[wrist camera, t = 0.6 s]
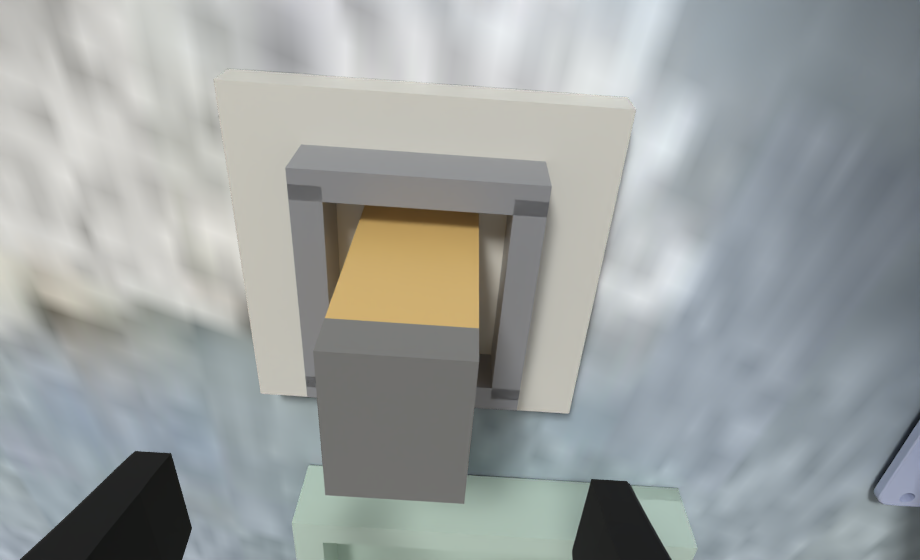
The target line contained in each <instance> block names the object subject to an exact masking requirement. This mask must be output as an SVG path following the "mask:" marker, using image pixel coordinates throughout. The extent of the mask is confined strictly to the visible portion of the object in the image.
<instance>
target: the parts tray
mask: <svg viewBox="0 0 920 560" xmlns="http://www.w3.org/2000/svg"><path fill="white" fill-rule="evenodd" d="M589 486H590V483H584V482H568V481H552V480H536V479H520V478H504V477H489V476H473V475H467V482H466V491H465V501H464V504H458V503H442V502H426V501H410V500H394V499H378V498H362V497H346V496H330V495H325V487H324V475H323V466H315V465H309V466H308V469H307V473H306V476H305V480H304V483H303V487H302V490H301V493H300V497H299V500H298V504H297V507H296V510H295V514H294V517H293V521H292V528H293V536H294V543H295V550H296V558H297V560H573V558H572V549H573V545H574V541H575V538H576V534H577V530H578V527H579V523H580V519H581V516H582V512H583V508H584V504H585V501H586V497H587V493H588V490H589ZM631 487H632V489H633V491H634V492H635V494H636V496H637V498H638V500H639V502H640V504H641V506H642V508H643V509H644V511H645V513H646V515H647V517H648V519H649V521H650V522H651V524H652V526H653V528H654V530H655V531H656V533H657V535H658V537H659V538H660V540H661V542H662V544H663V545H664V547H665V549H666V551H667V552H668V554H669V556H670V557H671V559H672V560H692V559H693V557H694V555H695V553H696V551H697V545H696V542H695V539H694V536H693V533H692V530H691V527H690V524H689V521H688V518H687V515H686V512H685V509H684V506H683V503H682V500H681V497H680V494H679V491H678V488H663V487H647V486H631Z"/></svg>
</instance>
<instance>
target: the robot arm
mask: <svg viewBox="0 0 920 560" xmlns="http://www.w3.org/2000/svg"><path fill="white" fill-rule="evenodd" d="M874 494H875V496H876V497H877V499H878V500H879V502H881V503H882V504H886V505H898V506H914V507H920V420H919V422H918V423H917V425H916V426H915V428H914V429H913V431H912V432H911V434H910V435H909V437H908V438H907V440H906V441H905V443H904V444H903V446H902V448H901V449H900V451H899V452H898V454H897V455H896V457H895V458H894V460H893V461H892V463H891V464H890V466H889V467H888V469H887V470H886V472H885V474H884V475H883V477H882V478H881V480H880V481H879V483H878V484H877V486H876V487H875V490H874ZM191 530H192V527H191V523H190V520H189V516H188V512H187V509H186V505H185V502H184V498H183V494H182V491H181V487H180V484H179V480H178V476H177V473H176V469H175V466H174V462H173V458H172V455H171V453H156V452H140V451H135V452H134V453H133V454H131V455H130V456H129V457H128V458H127V459H126V460H125V461H124V462H123V463H122V464H121V465H120V466H118V467H117V468H116V469H115V470H114V471H113V472H112V473H111V474H110V475H109V476H108V477H107V478H106V479H105V480H104V481H103V482H102V483H101V484H100V485H99V486H98V487H97V488H96V489H95V490H94V491H93V492H91V493H90V494H89V495H88V496H87V497H86V498H85V499H84V500H83V501H82V502H81V503H80V504H79V505H78V506H77V507H76V508H75V509H74V510H73V511H72V512H71V513H70V514H68V515H67V516H66V517H65V518H64V519H63V520H62V521H61V522H60V523H59V524H58V525H57V526H56V527H55V528H54V529H53V530H51V531H50V532H49V533H48V534H47V535H46V536H45V537H44V538H43V539H42V540H41V541H40V542H38V543H37V544H36V545H35V546H34V547H33V548H32V549H31V550H30V551H29V552H28V553H27V554H25V555H24V556H23V557H22V558H21V559H20V560H182V558H183V555H184V552H185V549H186V545H187V542H188V539H189V536H190V533H191ZM572 558H573V560H672V559H671V557H670V556H669V554H668V552H667V551H666V549H665V547H664V545H663V544H662V542H661V540H660V538H659V537H658V535H657V533H656V531H655V530H654V528H653V526H652V524H651V522H650V521H649V519H648V517H647V515H646V513H645V511H644V509H643V508H642V506H641V504H640V502H639V500H638V498H637V496H636V494H635V492H634V491H633V489H632V487H631V485H630V484H629V483H628V482H627V481H613V480H597V479H591V482H590V486H589V490H588V493H587V497H586V501H585V504H584V508H583V512H582V516H581V519H580V523H579V527H578V530H577V534H576V538H575V541H574V545H573V549H572Z"/></svg>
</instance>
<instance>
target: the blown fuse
mask: <svg viewBox="0 0 920 560" xmlns="http://www.w3.org/2000/svg"><path fill="white" fill-rule="evenodd" d="M313 357H314V369H315V380H316V392H317V404H318V416H319V428H320V439H321V451H322V463H323V475H324V487H325V495H330V496H346V497H362V498H378V499H394V500H410V501H426V502H442V503H458V504H464V501H465V491H466V482H467V472H468V463H469V453H470V444H471V434H472V425H473V415H474V406H475V396H476V387H477V377H478V368H479V213H472V212H457V211H443V210H428V209H414V208H399V207H384V206H370V205H365V206H364V209H363V212H362V215H361V217H360V220H359V223H358V226H357V229H356V231H355V234H354V237H353V240H352V243H351V246H350V248H349V251H348V254H347V257H346V260H345V262H344V265H343V268H342V271H341V274H340V276H339V279H338V282H337V285H336V288H335V291H334V293H333V296H332V299H331V302H330V305H329V307H328V310H327V313H326V316H325V319H324V321H323V324H322V327H321V330H320V333H319V336H318V338H317V341H316V344H315V347H314V350H313Z"/></svg>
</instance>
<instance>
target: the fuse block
mask: <svg viewBox="0 0 920 560" xmlns="http://www.w3.org/2000/svg"><path fill="white" fill-rule="evenodd" d="M213 80H214V86H215V93H216V100H217V106H218V113H219V119H220V126H221V133H222V139H223V146H224V153H225V159H226V166H227V172H228V179H229V186H230V192H231V199H232V205H233V212H234V219H235V225H236V232H237V239H238V245H239V252H240V258H241V265H242V272H243V278H244V285H245V292H246V298H247V305H248V311H249V318H250V325H251V331H252V338H253V344H254V351H255V358H256V364H257V371H258V378H259V384H260V391H261V394H274V395H290V396H305V397H314V398H317V392H316V380H315V369H314V357H313V350H314V347H315V344H316V341H317V338H318V336H319V333H320V330H321V327H322V324H323V321H324V319H325V316H326V313H327V310H328V307H329V305H330V302H331V299H332V296H333V293H334V291H335V288H336V285H337V282H338V279H339V276H340V274H341V271H342V268H343V265H344V262H345V260H346V257H347V254H348V251H349V248H350V246H351V243H352V240H353V237H354V234H355V231H356V229H357V226H358V223H359V220H360V217H361V215H362V212H363V209H364V206H365V205H370V206H384V207H399V208H414V209H428V210H443V211H457V212H472V213H479V368H478V377H477V387H476V396H475V406H474V408H484V409H500V410H515V411H517V410H522V411H537V412H552V413H568V414H569V411H570V406H571V402H572V397H573V393H574V388H575V384H576V379H577V375H578V370H579V366H580V361H581V357H582V352H583V348H584V343H585V339H586V334H587V330H588V325H589V321H590V316H591V311H592V307H593V302H594V298H595V293H596V289H597V284H598V280H599V275H600V271H601V266H602V262H603V257H604V253H605V248H606V244H607V239H608V235H609V230H610V226H611V221H612V217H613V212H614V208H615V203H616V198H617V194H618V189H619V185H620V180H621V176H622V171H623V167H624V162H625V158H626V153H627V149H628V144H629V140H630V135H631V131H632V126H633V122H634V117H635V113H636V109H635V107H634V106H633V104H632V103H631V102H630V100H629V99H628V97H615V96H601V95H587V94H573V93H559V92H545V91H531V90H517V89H503V88H489V87H475V86H461V85H448V84H434V83H420V82H406V81H392V80H378V79H364V78H350V77H336V76H322V75H308V74H294V73H280V72H266V71H252V70H238V69H227V70H226V71H224V72H223V73H222V74H220V75H219V76H218V77H216V78H215V79H213Z"/></svg>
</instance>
